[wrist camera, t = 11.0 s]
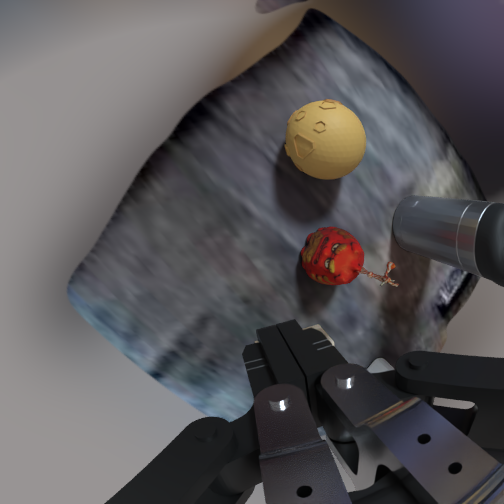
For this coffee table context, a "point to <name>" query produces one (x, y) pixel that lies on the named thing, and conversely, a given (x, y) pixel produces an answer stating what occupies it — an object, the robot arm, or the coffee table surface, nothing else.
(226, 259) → the coffee table surface
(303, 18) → the coffee table surface
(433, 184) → the coffee table surface
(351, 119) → the stress ball
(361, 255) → the red clay folk toy
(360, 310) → the coffee table surface
